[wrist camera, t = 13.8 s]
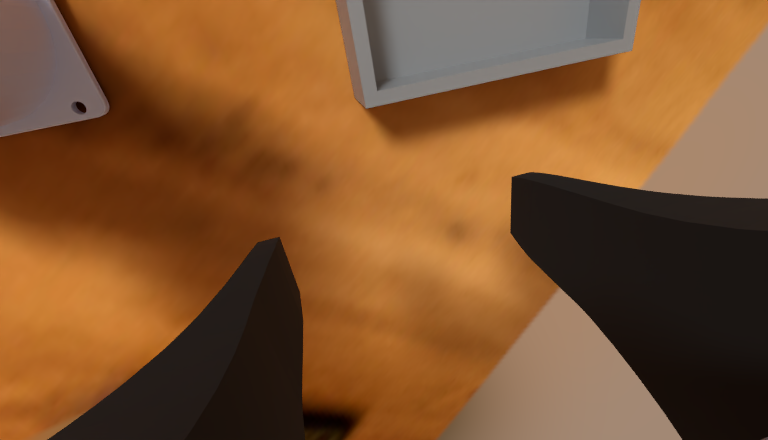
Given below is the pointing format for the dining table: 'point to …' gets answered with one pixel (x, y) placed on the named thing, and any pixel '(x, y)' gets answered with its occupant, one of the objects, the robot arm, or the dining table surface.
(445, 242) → the dining table surface
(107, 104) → the robot arm
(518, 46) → the tray
